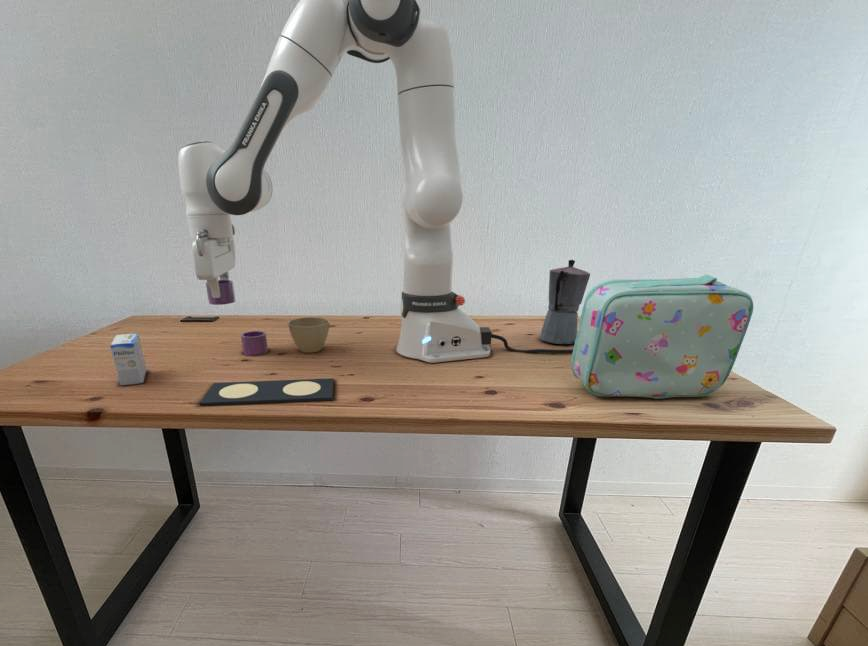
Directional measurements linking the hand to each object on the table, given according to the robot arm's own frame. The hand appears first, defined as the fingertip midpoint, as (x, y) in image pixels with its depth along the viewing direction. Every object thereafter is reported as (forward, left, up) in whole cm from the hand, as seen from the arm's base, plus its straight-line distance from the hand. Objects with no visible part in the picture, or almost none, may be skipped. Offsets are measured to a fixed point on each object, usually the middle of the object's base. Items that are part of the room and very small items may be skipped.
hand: (221, 294), depth 103 cm
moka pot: (-82, -3, -15) cm, 83 cm away
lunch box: (-84, +31, -15) cm, 91 cm away
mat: (-13, +24, -15) cm, 31 cm away
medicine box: (+17, +13, -15) cm, 26 cm away
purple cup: (-5, -3, -15) cm, 16 cm away
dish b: (0, 0, -2) cm, 2 cm away
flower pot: (-19, -3, -15) cm, 24 cm away
